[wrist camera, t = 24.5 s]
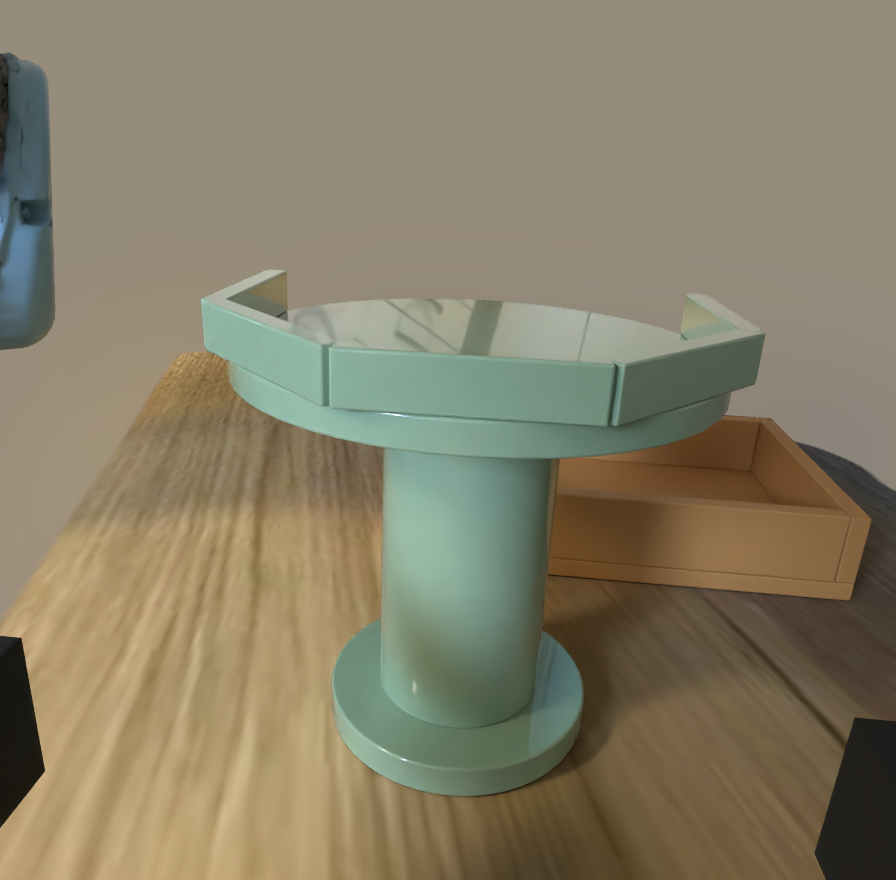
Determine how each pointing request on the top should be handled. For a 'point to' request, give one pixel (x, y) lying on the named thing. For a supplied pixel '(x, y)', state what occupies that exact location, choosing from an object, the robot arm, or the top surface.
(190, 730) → the top surface
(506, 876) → the top surface
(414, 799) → the top surface
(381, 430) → the green pedestal stand
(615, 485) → the box
